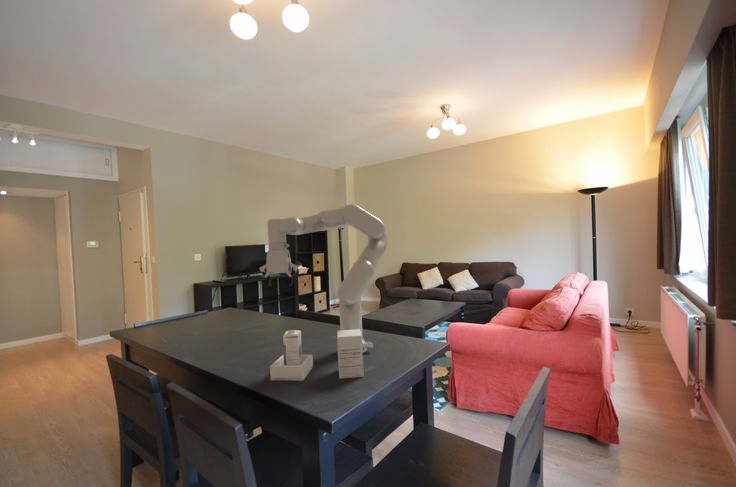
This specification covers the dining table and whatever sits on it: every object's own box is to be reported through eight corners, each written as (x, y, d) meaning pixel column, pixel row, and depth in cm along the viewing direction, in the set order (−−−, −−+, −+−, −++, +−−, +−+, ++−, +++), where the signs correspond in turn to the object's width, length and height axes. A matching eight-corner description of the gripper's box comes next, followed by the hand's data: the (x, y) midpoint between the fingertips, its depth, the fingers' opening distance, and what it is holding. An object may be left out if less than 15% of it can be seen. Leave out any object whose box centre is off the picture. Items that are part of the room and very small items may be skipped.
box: (313, 367, 129) (312, 354, 129) (302, 380, 117) (302, 366, 117) (283, 367, 130) (283, 354, 130) (270, 380, 118) (269, 366, 118)
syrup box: (287, 368, 126) (285, 330, 126) (303, 367, 126) (301, 329, 126) (284, 374, 121) (282, 334, 120) (300, 373, 121) (298, 333, 121)
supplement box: (338, 369, 126) (336, 330, 125) (362, 367, 126) (360, 328, 126) (338, 379, 117) (336, 336, 116) (363, 377, 117) (361, 335, 117)
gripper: (299, 245, 147) (301, 284, 147) (262, 247, 149) (264, 285, 150) (293, 246, 140) (295, 286, 140) (254, 248, 142) (257, 287, 142)
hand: (279, 286), depth 145 cm, fingers open, 9 cm apart
